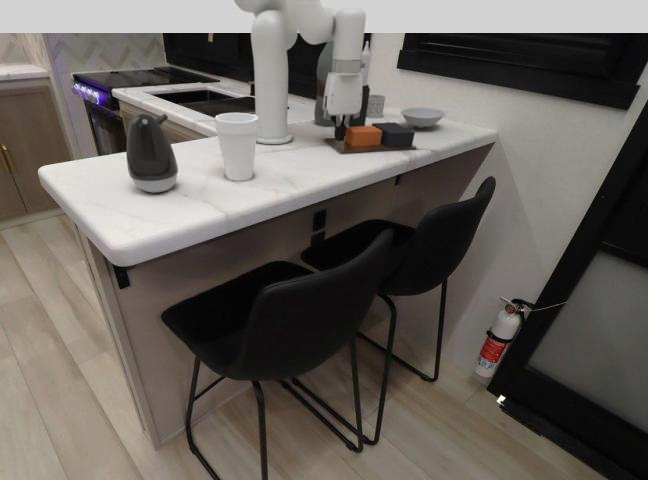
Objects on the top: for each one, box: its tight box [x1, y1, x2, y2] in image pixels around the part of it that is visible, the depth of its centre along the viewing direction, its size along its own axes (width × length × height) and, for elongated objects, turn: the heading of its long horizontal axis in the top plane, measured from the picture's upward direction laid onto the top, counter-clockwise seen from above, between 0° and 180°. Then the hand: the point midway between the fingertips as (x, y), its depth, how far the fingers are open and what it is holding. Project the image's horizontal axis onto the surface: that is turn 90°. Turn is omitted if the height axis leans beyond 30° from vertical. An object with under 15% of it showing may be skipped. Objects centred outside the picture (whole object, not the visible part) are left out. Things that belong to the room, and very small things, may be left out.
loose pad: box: [345, 125, 382, 147], centre depth 113 cm, size 9×6×4 cm, turn 105°
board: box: [324, 137, 417, 155], centre depth 115 cm, size 24×14×1 cm, turn 105°
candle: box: [347, 40, 371, 127], centre depth 121 cm, size 5×5×25 cm
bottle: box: [313, 41, 335, 128], centre depth 125 cm, size 9×9×30 cm
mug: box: [366, 94, 386, 119], centre depth 144 cm, size 10×7×7 cm, turn 113°
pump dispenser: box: [125, 112, 179, 194], centre depth 79 cm, size 10×10×15 cm
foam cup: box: [214, 112, 258, 182], centre depth 87 cm, size 10×9×13 cm
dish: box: [400, 107, 447, 129], centre depth 131 cm, size 18×14×5 cm
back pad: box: [371, 122, 416, 148], centre depth 115 cm, size 8×12×4 cm, turn 15°
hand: (339, 139), depth 111 cm, fingers closed
